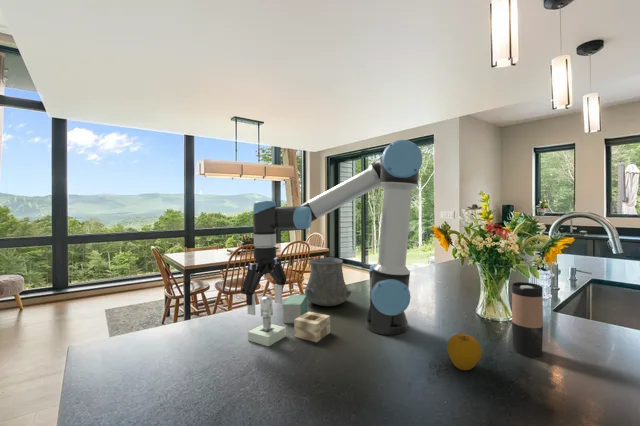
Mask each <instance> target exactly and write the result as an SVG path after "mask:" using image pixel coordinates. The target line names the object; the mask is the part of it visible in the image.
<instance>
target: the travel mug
mask: <svg viewBox="0 0 640 426" xmlns="http://www.w3.org/2000/svg"><path fill="white" fill-rule="evenodd" d="M511 296H512V297H511V324H512V329H511V331H512V349H513V351H514V352H515V353H517V354H518V355H520V356H523V357H527V358H540V357H541V356H542V355H543V338H544V337H543V334H544V333H543V332H544V331H543V330H544V317H543V316H544V311H543V310H544V309H543V308H544V307H543V306H544V305H543V300H544V299H543V286H542V285H540V284H537V283H532V282H525V281H524V282H522V281H521V282H520V281H519V282H518V281H516V282H513V283H512V285H511Z"/></svg>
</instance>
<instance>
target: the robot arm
mask: <svg viewBox="0 0 640 426" xmlns="http://www.w3.org/2000/svg"><path fill="white" fill-rule="evenodd" d="M422 164H423V153H422V151H421V149H420V148H419V146H418V145H417V144H416V143H415V142H412V141H410V140H408V139H398V140H395V141H393V142H391V143H390V144H388V145H387V146H386V147H385V148H384V150H383V153H382V155H381V156H380V157H379V158H378V159H377V160H375V161H374V162H372V163H370V164H369V165H368V167H367V169H364V170H363V171H361V172H359V173H357V174H356V175H354V176H352V177H350V178H348V179H346V180H345V181H343V182H341V183H338V184H337V185H335V186H333V187H332V188H330V189H328V190H326V191H324V192H322V193H321V194H318V195H316V196H315V197H313V198H311V199H309V200H307V201H305V202H304V203H302V204H300V205H297V206H296V205H295V206H277V204H276V201H274V200H256V201H255V202H254V203H253V208H252V209H253V213H252V221H253V222H252V223H253V246H254V248H253V258H254V259H255V262H254V263H251V262H249V263H248V264H247V272H246V275H245V276H244V277H245V278H244V280H243V281H244V282H243V284H242V287H241V290H240V294H242V295H245V296H246V297H245V300H246V301H245V302H246V306H247V315H250V316H255V315H256V294H254V293H255V292H256V289H257V287H258V285H259V282H260V281H261V279H262V278H263V277H264V275H267V274H269V275H270V276H271V278H272V279H273V280H274V282H275V284H274V303H277V304H283V292H284V291H283V285H284V286H285V285H286V282H287V281H288V280H287V277H286V274H285V271H284V268H283V266H282V260H281V258H280V257H277V247H276V245H277V229H278V230H281V229H282V230H283V229H284V230H285V229H287V230H305V229H310V228H311V227H312V226H311V225H312V222H315V221H316V220H318V219H319V218H322V217H324V216H325V215H327V214H329V213H331V212H333V211H335V210H337V209H338V208H342V207H343V206H344V205H346V204H348V203H351V202H353V200H355V199H357V198H359V197H361V196H363V195H365V194H367V193H369V192H371V191H373V190H375V189H377V188H381V189H383V199H382V200H383V201H382V211H381V222H380V225H381V226H380V233H379V234H380V235H379V236H380V238H379V248H378V262H377V263H374V264H373V263H372V264H371V265H370V266H369V271H368V273H369V302H370V303H369V307H368V309H367V310H368V311H367V314H366V316H365V327H366V329H367V330H369V331H370V332H372V333H375V334H380V335H387V336H388V335H389V336H391V335H392V336H393V335H400V334H403V333H405V332H407V331H408V329H409V322H408V318H407V316H406V313H405V311H406V310H407V309H408V307H409V306H410V302H411V297H412V296H411V291H410V289H409V287H410V279H411V278H410V275H411V272H410V270H409V268H408V267H407V263H406V262H407V252H408V243H409V242H408V241H409V240H408V239H409V229H410V217H411V206H412V205H411V204H412V193H413V190H414V189H416V188H417V187H418V184H419V183H418V181H419V171H420V169H421V167H422Z"/></svg>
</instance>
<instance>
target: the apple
mask: <svg viewBox="0 0 640 426" xmlns="http://www.w3.org/2000/svg"><path fill="white" fill-rule="evenodd" d="M446 347H447V348H446V349H447V353H448V354H447V355H448V356H449V359H450V361H451V362H452V364H453V365H454V367H456V368H457V369H458V370H461V371H469V370H472V369H473V368H474V367H476V366H477V364H478V362H480V359H481V358H482V354H483V353H482V348H481V345H480V343H479V342H478V340H477V339H476V338H474V336H472V335H469V334H465V333H458V334H454V335H451V337H450V338H449V339H448V342H447V346H446Z"/></svg>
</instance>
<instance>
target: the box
mask: <svg viewBox="0 0 640 426" xmlns="http://www.w3.org/2000/svg"><path fill="white" fill-rule="evenodd" d="M307 302H308V300H307V296H306V295H304V294H292V295H289V296H288V298H287V299H286V300H285V301H284V302H283V303H282V312H283V313H282V315H283V316H282V317H283V319H282V320H283V321H282V322H283V323H284V324H294V319H296V318H298V317H300V316H302V315H303V314H305V313H307V312H308V303H307Z"/></svg>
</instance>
